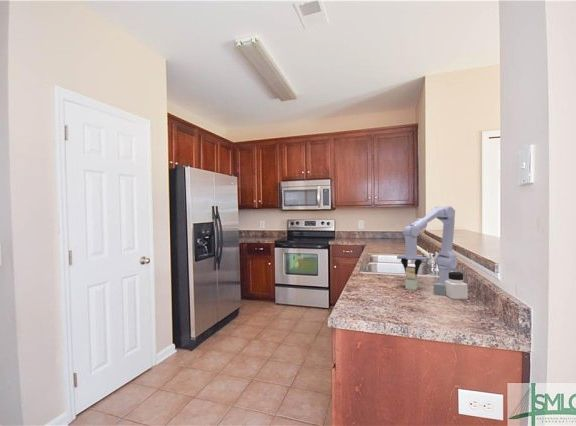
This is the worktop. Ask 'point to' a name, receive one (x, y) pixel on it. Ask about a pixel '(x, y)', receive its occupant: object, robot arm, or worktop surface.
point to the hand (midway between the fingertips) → (411, 273)
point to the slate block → (439, 289)
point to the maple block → (410, 272)
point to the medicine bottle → (456, 286)
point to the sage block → (411, 283)
